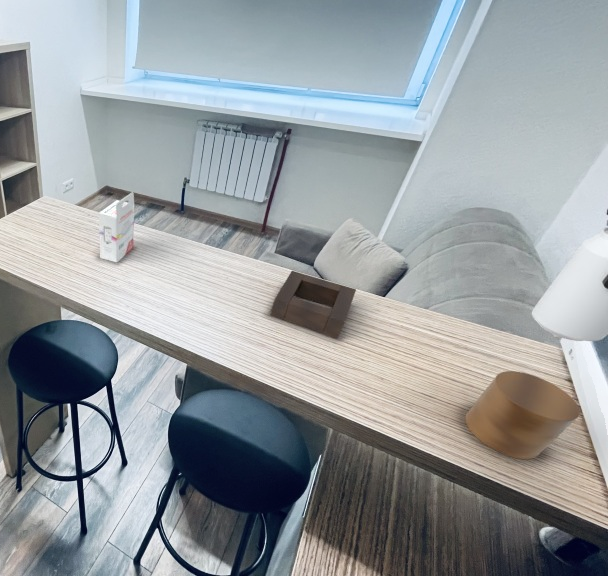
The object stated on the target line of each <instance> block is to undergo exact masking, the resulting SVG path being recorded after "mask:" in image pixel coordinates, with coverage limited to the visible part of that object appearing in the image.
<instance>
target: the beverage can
mask: <svg viewBox="0 0 608 576" xmlns="http://www.w3.org/2000/svg"><path fill="white" fill-rule="evenodd" d="M607 275H608V226H607V227H606V226H605V227H604V228H602V229H601V231H600V232H598V233H596V234H594V235H592V236H590V237H588V238H586V239H584V240H583V241H582V242H581V244H580V245H579V246H578V247H577V249H576V250H575V252H574V253H573V254H572V256H571V257H570V258H569V259H568V261H567V262H566V263H565V265H564V266H563V268H562V269H561V270H560V272H559V273H558V274H557V275H556V277H555V278H554V280H553V281H552V283H551V284H550V285H549V287H548V288H547V289H546V290H545V292H544V293H543V295H542V296H541V297H540V299H539V300H538V301H537V303H536V304H535V306H533V308H532V311H531V316H532V318H533V319H534V320H535V322H536V323H537V324H538V325H539V327H540V328H542V329H543V330H544V331H546V332H548V333H550V334H552V335H554V336H556V337H559V338H562V339H566V340H569V341H574V342H575V341H576V342H598V341H601V340H604V339H605V338H606V337H607V336H608V289H607V288H605V287H604V285H603V283H602V281H603V280H604V278H605V277H606V276H607Z"/></svg>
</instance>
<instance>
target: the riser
mask: <svg viewBox="0 0 608 576" xmlns="http://www.w3.org/2000/svg"><path fill="white" fill-rule="evenodd" d="M580 415H581V409H580V407H579V404H578V403H577V402H576V400H575V399H574V398H573V397H572V396H571V395H570V394H568V393H567V392H566V391H565V390H563V389H562V388H561V387H559V386H557V385H556V384H554V383H552V382H550V381H548V380H546V379H543V378H541V377H539V376H536V375H534V374H530V373H526V372H523V371H516V370H506V371H502V372H499V373H497V375H496V376H495V377H494V379H493V380H492V381H491V382H490V383H489V385H487V387H486V389H485V390H484V391H483V393H482V394H481V395H480V396H479V397H478V399H477V400H476V401H475V402H474V404H473V405H472V406H471V408H469V410H468V411H467V412H466V414H465V417H464V420H465V421H464V422H465V424H466V426H467V428H468V430H469V431H470V432H471V433H472V434H473V436H474V437H475V438H477V439H478V440H479V441H480V442H481V443H483V444H484V445H486V446H487V447H489V448H490V449H492V450H494V451H496V452H498V453H500V454H502V455H505V456H508V457H511V458H514V459H520V460H532V459H535V458H537V457H538V456H539V455H541V453H542V452H544V451H545V450H546V448H548V447H549V446H550V445H551V444H552V443H553V442H554V441H555V440H557V438H558V437H559V436H560V435H561V434H563V432H564V431H565V430H567V428H569V426H571V425H572V424H573V423H574V422H575V421H576V420H577V419H578V418H579V417H580Z"/></svg>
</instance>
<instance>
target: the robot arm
mask: <svg viewBox="0 0 608 576" xmlns="http://www.w3.org/2000/svg"><path fill="white" fill-rule="evenodd" d="M605 213H606V215H607V216H608V208H607V209H606V212H605ZM606 226H607V227H608V219H607V221H606ZM602 283H603V285H604V287H605V288H607V289H608V275H607V276H606V277H605V278H604V280H603V281H602Z"/></svg>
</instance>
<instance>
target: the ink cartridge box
mask: <svg viewBox="0 0 608 576" xmlns="http://www.w3.org/2000/svg"><path fill="white" fill-rule="evenodd" d="M134 230H135V193H134V191H131V192H130V193H129V194H128V195H125V196H124V197H123V198H121V199H120V200H118V199H116V200H115V201H113V202H112V203H111V204H109V205H108V206H106V207H105V208H103V210H101V211H99V212H98V231H99V258H100V259H102V260H105V261H109V262H112V263H113V262H114V263H119V262H120V261H121V260H122V259H123V258H124V257H125V256H126V255H127V254H128V253H129V252H130V251H131V250H132V249H133V248H134V236H135V235H134V232H135V231H134Z"/></svg>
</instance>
